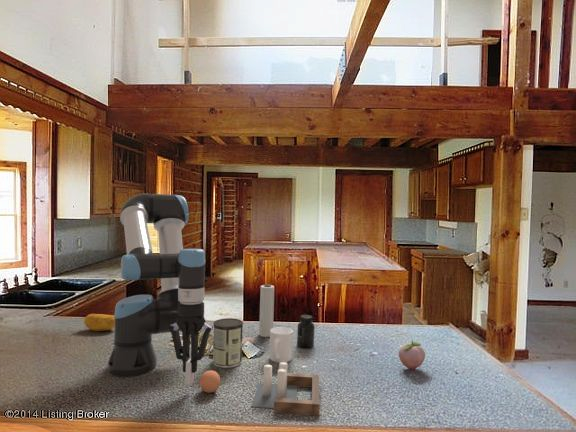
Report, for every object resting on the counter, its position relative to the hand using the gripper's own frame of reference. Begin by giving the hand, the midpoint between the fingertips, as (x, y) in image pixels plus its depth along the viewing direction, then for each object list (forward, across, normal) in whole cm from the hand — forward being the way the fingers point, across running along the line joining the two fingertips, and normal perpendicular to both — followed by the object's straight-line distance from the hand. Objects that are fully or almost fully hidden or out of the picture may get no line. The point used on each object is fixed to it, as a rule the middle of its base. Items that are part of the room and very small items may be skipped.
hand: (189, 383), depth 109 cm
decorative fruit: (+4, +68, +30) cm, 74 cm away
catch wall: (+3, +31, +3) cm, 32 cm away
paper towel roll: (+1, +13, +55) cm, 57 cm away
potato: (0, -58, +46) cm, 74 cm away
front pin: (+3, +22, +2) cm, 23 cm away
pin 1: (+3, +27, +5) cm, 27 cm away
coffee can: (+2, +4, +24) cm, 24 cm away
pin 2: (+3, +27, 0) cm, 27 cm away
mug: (+3, +22, +28) cm, 36 cm away
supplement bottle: (+2, +30, +45) cm, 54 cm away
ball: (0, +6, +2) cm, 6 cm away
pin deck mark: (+3, +25, +3) cm, 25 cm away
